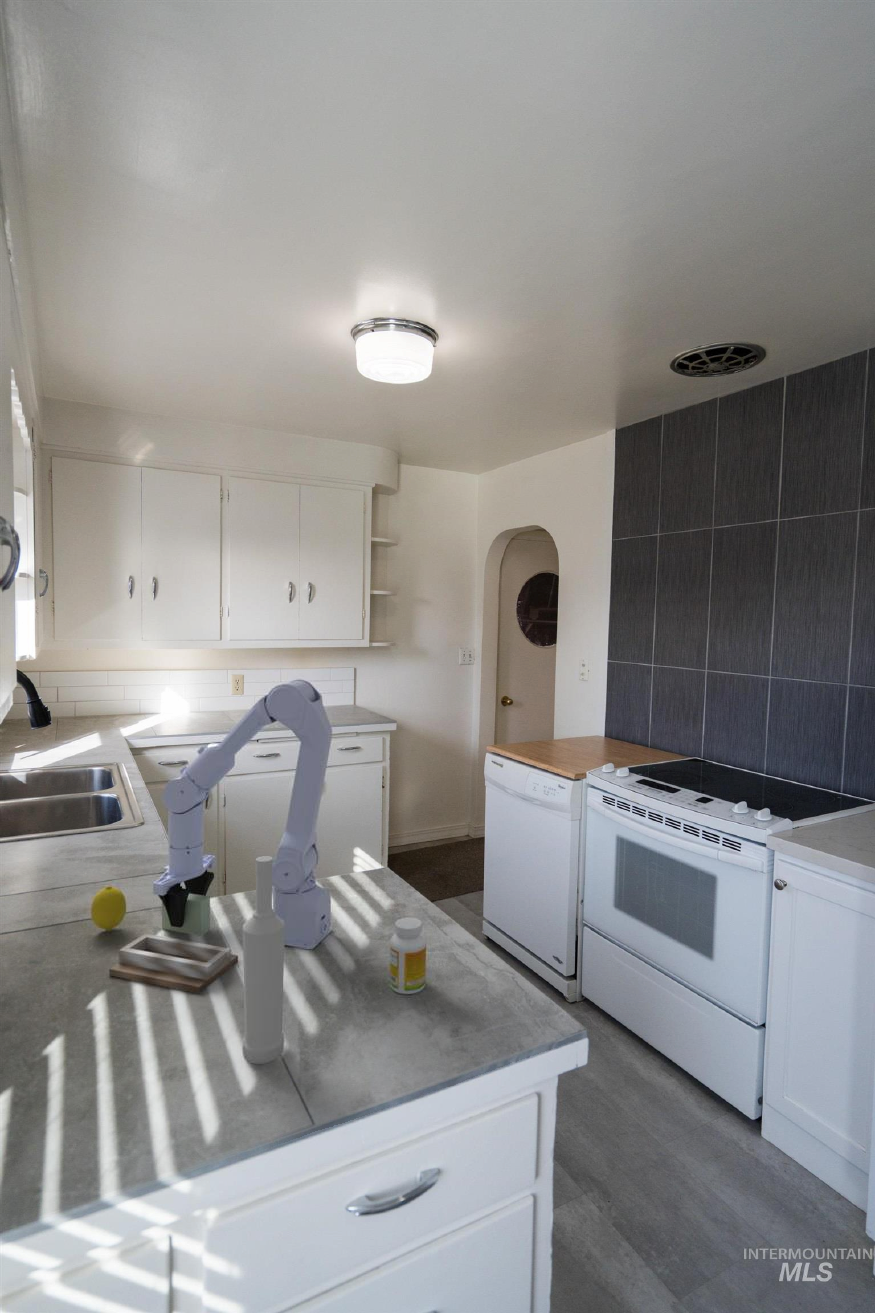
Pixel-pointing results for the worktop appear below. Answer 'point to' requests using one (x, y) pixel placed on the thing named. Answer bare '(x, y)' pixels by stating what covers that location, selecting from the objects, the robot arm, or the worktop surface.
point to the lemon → (108, 908)
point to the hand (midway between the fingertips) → (186, 920)
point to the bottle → (263, 973)
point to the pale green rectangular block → (192, 916)
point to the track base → (173, 962)
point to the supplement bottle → (408, 957)
